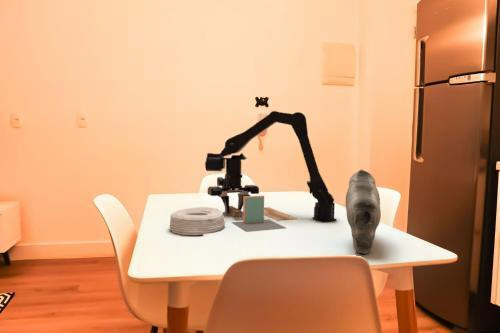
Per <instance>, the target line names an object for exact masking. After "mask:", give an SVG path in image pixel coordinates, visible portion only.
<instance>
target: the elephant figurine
mask: <svg viewBox="0 0 500 333" xmlns="http://www.w3.org/2000/svg"><path fill="white" fill-rule="evenodd" d="M345 211H346V219H347V222H348V224H349V227H350V229H351V230H350V231H351V238H352V247H353V250H355V252H356V253H358V254H361V253H362V254H363V255H366V254H369V253H371V251H372V249H373V247H374V246H373V245H374V241H375V236H376V231H377V228H378V226H379V224H380V223H381V212H382V211H381V198H380V193H379V191H378V188H377V184H376V180H375V178H374V176H373V174H371V173H370V172H368V171H366V170H363V169H362V168H361V169H359V170H357V171H356V172H354V173H353V174H352V175H351V176H350V178H349V182H348V188H347V191H346V194H345Z"/></svg>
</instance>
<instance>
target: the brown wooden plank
mask: <svg viewBox="0 0 500 333" xmlns="http://www.w3.org/2000/svg"><path fill="white" fill-rule="evenodd" d="M224 213H226V214H227V212H226V209H225V208H224ZM228 215H229V216H231V217H232V218H231V219H233V220H234V221H235V222H242V221H243V210H242V209H241V210H239V209H238V207H235V206H234V205H229V214H228Z"/></svg>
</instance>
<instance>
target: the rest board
mask: <svg viewBox="0 0 500 333" xmlns="http://www.w3.org/2000/svg"><path fill="white" fill-rule="evenodd" d="M264 216H266V217H268V218H269V219H270V218H271V219H272V220H274V221H278V222H280V221H291V220H292V221H293V220H298V218H297V217H295V216H292V215H290V214H287V213H284V212H283V211H280V210H277V209H274V208H272V207H270V206H267V207H265V206H264Z"/></svg>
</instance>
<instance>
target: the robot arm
mask: <svg viewBox="0 0 500 333" xmlns="http://www.w3.org/2000/svg"><path fill="white" fill-rule="evenodd" d="M276 123H278V124H284V125H288V126H291V127H292V130H293V131H294V133H295V135H296V137H297V140H298V142H299V145H300V148H301V152H302V155H303V159H304V162H305V165H306V168H307V171H308V175H309V180H306V184H307V186H308V188H309V194H310V195H311V196H312V197H313V198H314V199H316V200H317V202H315V204H314V207H313V216H312V220H313V219H314V220H316V221H318V222H320V223H321V222H323V223H324V222H335V221H337V220H338V219H337V218H335V199H334V197H333V195H332V193H330V192H329V189H328V187H327V186H326V183H325V181H324V179H323V176H321V173H320V170H319V168H318V165H317V161H316V157H315V154H314V151H313V148H312V146H311V141H310V139H309V132H308V126H307V125H308V124H307V117H306V115H305V114H304V113H303V112H299V111H297V112H294V113H289V112H282V111H278V110H277V111H276V110H272V111H271V112H270V113H269V114H267V115H266V116H265V117H262V119H260V120H259V121H258V122H256V123H255V124H253V125H252V126H250V127H249V128H248V129H246V130H245V131H243V132H240V133H238V134H237V135H234V136H231V137H230V138H228V139H227V140H226V141H225V142H224V148H223V149H222V150H221V152H220V153H212V152H209V153H208V152H207V154H206V158H205V162H204V167H205V171H206V172H222V171H223V170H224V169H225V174H224V177H222V176H219V177H218V176H217V177H216V185H217V186H208V187H207V195H209V196H210V197H211V196H212V197H219V198H220V199H221V201H222V203H223V206H224V210H225V209H226V212H227V213H226V214H227V215H229V206H230V195H228V194H231V193H233V194H235V193H237V197H238V200H237V201H238V202H237V209H239V210H241V211H242V210H243V196H251V195H258V194H260V188H259V186H258V185H255V184H245V185H244V187H243V185H242V178H243V174H242V160H244V161H246V160H247V157H246V156H245V155H244V153H242V152H241V151H243V149H244V148H245V147H246V146H247V145H248V144H249V142H251V141H252V140H253V139H254V138H256V137H257V136H259V135H260V134H262V133H263V132H264V131H266V130H268V129H269V128H270V127H271V126H273V125H275V124H276ZM240 152H241V153H240ZM239 153H240V154H239ZM228 156H231V157H228ZM249 193H250V194H251V195H250V194H249Z"/></svg>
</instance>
